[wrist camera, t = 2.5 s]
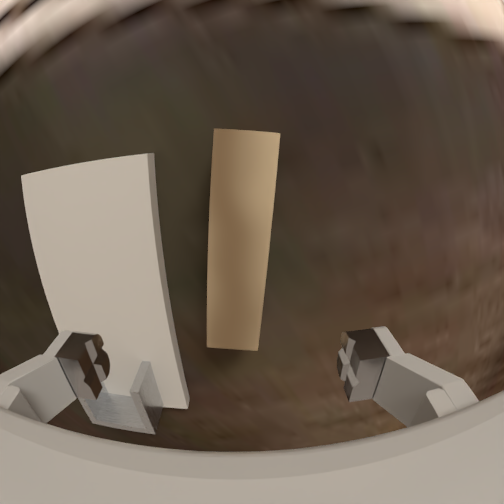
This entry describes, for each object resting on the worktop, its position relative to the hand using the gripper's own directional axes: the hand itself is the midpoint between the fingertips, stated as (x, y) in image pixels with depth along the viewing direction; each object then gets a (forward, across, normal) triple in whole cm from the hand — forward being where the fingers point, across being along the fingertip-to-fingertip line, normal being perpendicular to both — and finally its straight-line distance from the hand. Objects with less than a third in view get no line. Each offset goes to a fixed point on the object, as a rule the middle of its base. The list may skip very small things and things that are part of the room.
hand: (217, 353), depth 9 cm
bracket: (+14, +11, +6) cm, 19 cm away
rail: (+14, -1, 0) cm, 14 cm away
